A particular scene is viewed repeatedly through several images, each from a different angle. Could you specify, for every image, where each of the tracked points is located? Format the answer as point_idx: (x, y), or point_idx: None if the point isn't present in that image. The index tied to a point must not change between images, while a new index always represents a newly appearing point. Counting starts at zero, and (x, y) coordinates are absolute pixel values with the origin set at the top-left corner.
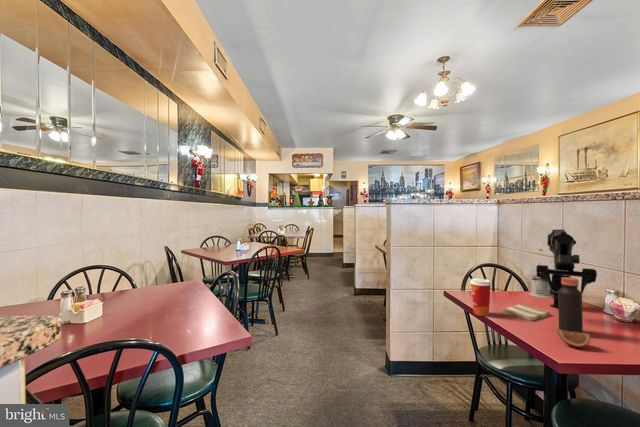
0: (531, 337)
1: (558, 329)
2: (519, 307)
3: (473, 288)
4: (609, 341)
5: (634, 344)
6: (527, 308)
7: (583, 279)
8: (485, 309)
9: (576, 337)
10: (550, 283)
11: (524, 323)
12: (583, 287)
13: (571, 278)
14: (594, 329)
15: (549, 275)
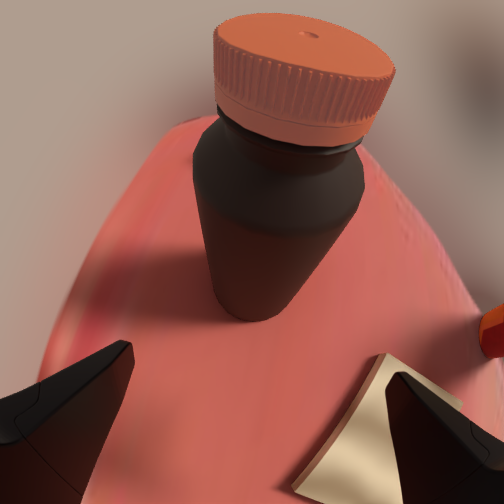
0: (368, 185)
1: None
2: None
3: None
4: (151, 239)
5: (92, 244)
6: (381, 482)
7: (6, 429)
8: (498, 309)
9: None
10: (434, 404)
11: (397, 308)
12: (83, 365)
13: (287, 34)
14: (148, 359)
15: (499, 467)
